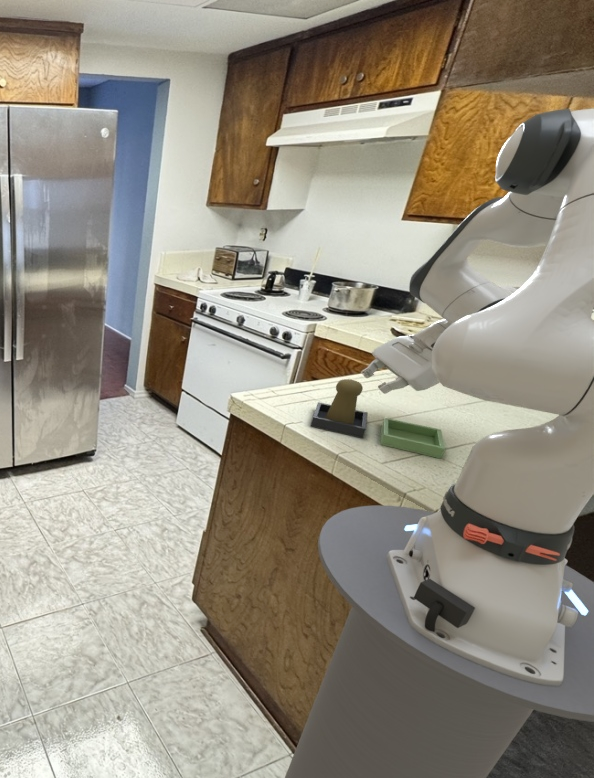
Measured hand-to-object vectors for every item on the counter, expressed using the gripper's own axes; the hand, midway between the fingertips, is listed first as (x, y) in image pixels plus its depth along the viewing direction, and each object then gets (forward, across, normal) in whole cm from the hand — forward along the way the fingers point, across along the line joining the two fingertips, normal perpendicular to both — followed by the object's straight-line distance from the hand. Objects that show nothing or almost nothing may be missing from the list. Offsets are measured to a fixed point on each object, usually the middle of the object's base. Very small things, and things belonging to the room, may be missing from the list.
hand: (371, 382), depth 111 cm
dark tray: (+11, 0, +5) cm, 12 cm away
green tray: (+2, +6, +14) cm, 16 cm away
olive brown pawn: (+11, 0, +5) cm, 12 cm away
